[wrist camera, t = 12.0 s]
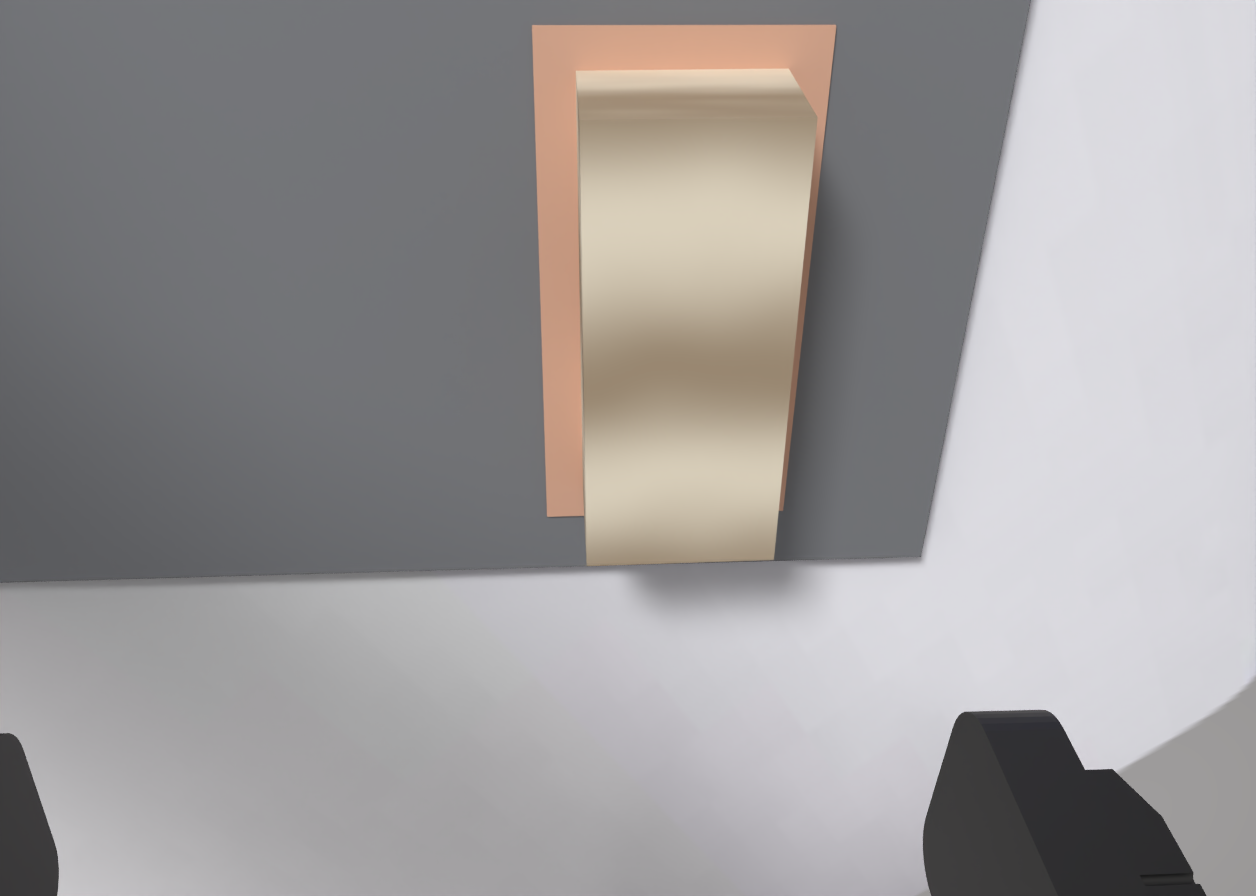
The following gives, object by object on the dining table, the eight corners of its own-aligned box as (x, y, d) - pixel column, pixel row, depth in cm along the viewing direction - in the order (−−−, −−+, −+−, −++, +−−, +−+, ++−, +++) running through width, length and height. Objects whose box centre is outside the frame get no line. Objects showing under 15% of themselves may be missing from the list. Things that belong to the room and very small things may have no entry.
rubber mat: (-72, 571, 35) (-82, 587, 35) (-433, -300, 23) (-458, -299, 22) (915, 544, 37) (921, 559, 36) (1074, -279, 25) (1087, -277, 24)
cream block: (575, 71, 27) (579, 120, 24) (789, 68, 28) (817, 117, 25) (583, 488, 34) (586, 566, 31) (754, 483, 34) (773, 559, 31)
